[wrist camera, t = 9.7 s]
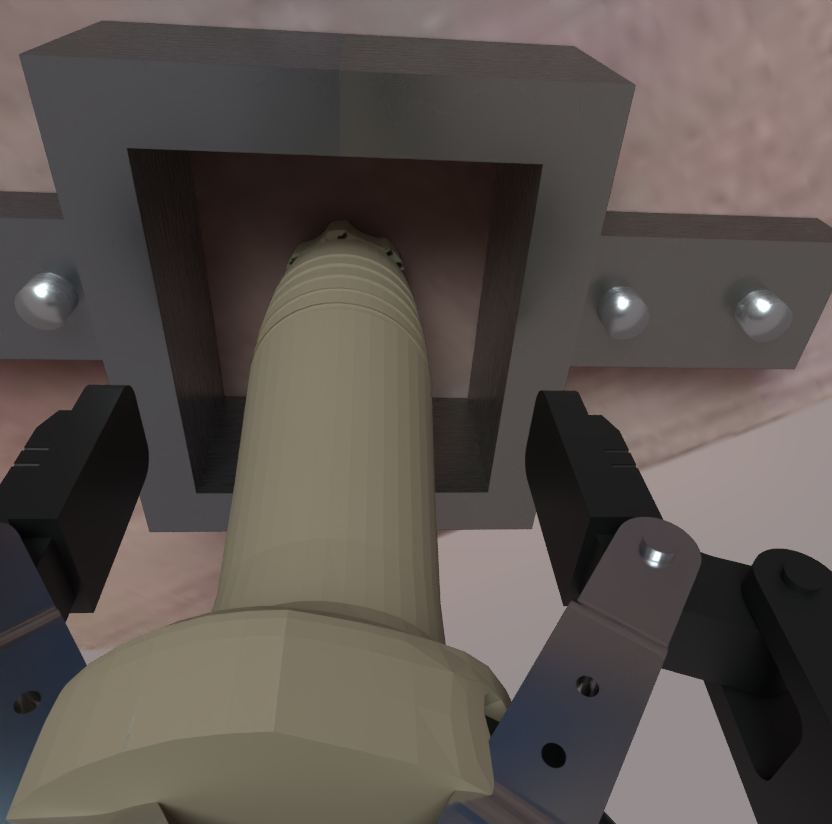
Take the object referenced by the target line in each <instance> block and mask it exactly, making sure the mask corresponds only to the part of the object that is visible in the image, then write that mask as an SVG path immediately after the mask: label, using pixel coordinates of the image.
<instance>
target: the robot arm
mask: <svg viewBox="0 0 832 824" xmlns="http://www.w3.org/2000/svg"><path fill="white" fill-rule="evenodd" d="M24 447H25V450H24V451H21V453H20V454H19V456H18V457H17V459H16V461H15V462H14V464H15V465H14V467H11V468H10V470H9V471H8V473H7V475H6V476H5V478H4V479H3V481H2V482H1V484H0V824H168V822H167V820H166V818H165V816H164V814H163V812H162V810H161V808H160V806H159V804H158V802H152V803H146V804H141V805H137V806H132V807H129V808H125V809H122V810H119V811H115V812H111V813H105V814H99V815H89V816H70V817H49V818H27V819H6V817H7V814H8V812H9V809H10V807H11V804H12V801H13V799H14V796H15V794H16V791H17V789H18V786H19V784H20V781H21V779H22V776H23V774H24V771H25V769H26V766H27V764H28V761H29V759H30V756H31V754H32V752H33V749H34V747H35V744H36V742H37V740H38V737H39V735H40V732H41V730H42V728H43V725H44V723H45V721H46V719H47V717H48V715H49V713H50V711H51V709H52V707H53V705H54V703H55V702H56V700H57V698H58V696H59V694H60V692H61V691H62V689H63V688H64V687H65V685H66V684H67V683H68V682H69V681H70V680H71V679H73V678H74V677H75V676H76V675H77V674H78V673H79V672H80V671H81V670H82V669H84V668H85V667H86V666H87V665H86V663H85V661H84V659H83V657H82V655H81V653H80V651H79V649H78V647H77V645H76V643H75V641H74V639H73V637H72V635H71V633H70V631H69V629H68V627H67V625H66V620H67V618H68V615H69V613H94V611H95V608H96V606H97V603H98V601H99V598H100V595H101V593H102V590H103V588H104V585H105V582H106V580H107V577H108V575H109V572H110V570H111V567H112V564H113V562H114V559H115V557H116V554H117V552H118V549H119V546H120V544H121V541H122V539H123V536H124V534H125V531H126V528H127V526H128V523H129V521H130V518H131V516H132V513H133V510H134V508H135V505H136V503H137V500H138V497H139V495H140V492H141V490H142V487H143V485H144V482H145V479H146V477H147V473H148V467H149V450H148V444H147V440H146V436H145V432H144V428H143V424H142V420H141V416H140V412H139V408H138V404H137V400H136V396H135V392H134V390H133V388H132V387H131V386H129V385H88V386H86V387H85V389H84V390H83V392H82V394H81V395H80V397H79V399H78V400H77V402H76V404H75V405H74V407H73V409H72V410H59V411H58V412H56V413H55V414H54V415H52V416H51V417H50V418H48V419H47V420H46V421H44V422H43V423H42V424H40V425H39V426H38V427H37V428H36V429H35V431H34V432H33V434H32V436H31V437H30V439H29V440H28V442H27V443H26V445H25V446H24ZM628 450H629V449H628V447H627V445H626V443H625V441H624V439H623V437H622V435H621V433H620V431H619V430H618V429H617V428H615V427H614V426H613V425H612V424H611V423H610V422H609V421H608V420H607V419H605V418H604V417H603V416H602V415H588V413H587V410H586V408H585V406H584V404H583V401H582V399H581V397H580V395H579V393H578V392H577V391H552V390H540V391H539V392H538V394H537V397H536V401H535V406H534V410H533V415H532V420H531V425H530V430H529V435H528V440H527V445H526V451H525V471H526V477H527V481H528V484H529V488H530V491H531V495H532V498H533V502H534V505H535V509H536V512H537V515H538V519H539V522H540V526H541V529H542V533H543V537H544V540H545V543H546V547H547V550H548V554H549V557H550V561H551V564H552V568H553V571H554V575H555V578H556V582H557V585H558V589H559V592H560V595H561V599H562V603H563V606H567V608H566V610H565V611H564V613H563V615H562V616H561V618H560V620H559V622H558V623H557V625H556V627H555V629H554V630H553V632H552V634H551V635H550V637H549V639H548V640H547V642H546V644H545V646H544V647H543V649H542V651H541V652H540V654H539V656H538V658H537V659H536V661H535V663H534V665H533V666H532V668H531V670H530V671H529V673H528V675H527V676H526V678H525V680H524V682H523V683H522V685H521V687H520V688H519V690H518V692H517V693H516V695H515V697H514V699H513V700H512V702H511V704H510V705H509V707H508V709H507V711H506V712H505V714H504V716H503V717H502V719H501V721H500V722H499V721H497V720H495V719H492V718H490V717H488V716H486V715H485V718H486V722H487V726H488V729H489V733H490V737H491V738H490V740H489V748H490V755H491V762H492V769H493V777H494V790H493V793H492V794H491V795H488V794H483V793H477V792H470V791H459V790H456V791H455V792H454V794H453V795H452V797H451V799H450V800H449V802H448V804H447V805H446V807H445V809H444V810H443V812H442V814H441V815H440V817H439V819H438V820H437V822H436V824H616V823H615V822H614V821H613V820H612V819H611V818H610V817H609V816H608V815H607V814H606V813H605V812H604V809H605V807H606V804H607V802H608V799H609V797H610V794H611V792H612V789H613V787H614V784H615V782H616V779H617V777H618V775H619V772H620V770H621V767H622V765H623V762H624V760H625V757H626V754H627V752H628V750H629V747H630V745H631V742H632V740H633V737H634V735H635V732H636V730H637V727H638V725H639V722H640V719H641V717H642V715H643V712H644V710H645V707H646V705H647V702H648V700H649V697H650V695H651V692H652V690H653V687H654V685H655V682H656V680H657V677H658V675H659V672H660V670H661V668H662V669H666V670H669V671H673V672H676V673H680V674H684V675H687V676H691V677H694V678H698V679H702V680H704V683H705V685H706V688H707V691H708V693H709V696H710V699H711V701H712V704H713V707H714V709H715V712H716V715H717V717H718V720H719V723H720V725H721V728H722V730H723V733H724V736H725V738H726V741H727V744H728V746H729V749H730V751H731V754H732V757H733V760H734V762H735V765H736V767H737V770H738V773H739V775H740V778H741V780H742V783H743V786H744V789H745V791H746V794H747V797H748V799H749V802H750V804H751V807H752V810H753V812H754V815H755V818H756V820H757V823H758V824H832V571H830V570H829V569H828V568H827V567H826V566H824V565H823V564H821V563H820V562H819V561H817V560H815V559H813V558H811V557H809V556H807V555H805V554H802V553H799V552H797V551H793V550H788V549H770V550H766V551H764V552H762V553H761V554H759V555H758V556H757V558H756V559H755V561H754V562H753V564H752V566H750V565H745V564H742V563H738V562H734V561H729V560H725V559H721V558H717V557H713V556H710V555H707V554H704V553H701V552H700V550H699V548H698V546H697V544H696V543H695V541H694V540H693V539H692V538H691V537H690V536H689V535H688V534H687V533H686V532H685V531H684V530H682V529H681V528H679V527H678V526H676V525H674V524H672V523H670V522H667V521H664V520H663V518H662V516H661V514H660V512H659V510H658V508H657V506H656V504H655V502H654V500H653V498H652V496H651V494H650V492H649V490H648V488H647V486H646V484H645V482H644V480H643V478H642V476H641V474H640V471H639V469H638V468H636V463H635V461H634V459H633V457H632V455H631V453H629V452H628ZM5 819H6V820H5Z"/></svg>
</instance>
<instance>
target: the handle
mask: <svg viewBox="0 0 832 824" xmlns="http://www.w3.org/2000/svg"><path fill="white" fill-rule="evenodd" d="M286 270H287V271H286V273H285V274H284V276H283V277H282V279H281V281H280V283H279V284H278V286H277V288H276V290H275V292H274V295H273V297H272V299H271V302H270V304H269V307H268V309H267V312H266V315H265V317H264V320H263V322H262V325H261V329H260V332H259V335H258V339H257V344H256V347H255V351H254V355H253V360H252V364H251V369H250V375H249V382H248V389H247V396H246V404H245V411H244V419H243V426H242V433H241V441H240V448H239V455H238V463H237V470H236V478H235V485H234V491H233V497H232V504H231V510H230V516H229V523H228V529H227V536H226V542H225V548H224V555H223V561H222V567H221V574H220V580H219V587H218V593H217V597H216V600H215V603H214V607H213V610H212V612H211V613H207V614H204V615H200V616H196V617H192V618H189V619H185V620H181V621H177V622H175V623H172V624H170V625H167V626H165V627H163V628H160V629H158V630H155V631H153V632H150V633H148V634H145V635H143V636H141V637H138V638H136V639H133V640H131V641H128V642H126V643H123V644H121V645H119V646H118V647H116V648H114V649H113V650H111V651H109V652H108V653H106V654H104V655H103V656H101V657H100V658H98V659H96V660H94V661H93V662H91V663H89V664H88V665H87V666H86V667H85V668H84V669H82V670H81V671H80V672H79V673H78V674H77V675H76V676H75V677H74V678H73V679H71V680H70V681H69V682H68V683H67V684H66V685H65V687H64V688H63V689H62V691H61V692H60V694H59V696H58V698H57V700H56V702H55V703H54V705H53V707H52V709H51V711H50V713H49V715H48V717H47V719H46V721H45V723H44V725H43V728H42V730H41V732H40V735H39V737H38V740H37V742H36V744H35V747H34V749H33V752H32V754H31V756H30V759H29V761H28V764H27V766H26V769H25V771H24V774H23V776H22V779H21V781H20V784H19V786H18V789H17V791H16V794H15V796H14V799H13V801H12V804H11V807H10V809H9V812H8V814H7V817H6V819H27V818H49V817H70V816H89V815H99V814H105V813H111V812H115V811H119V810H122V809H125V808H129V807H132V806H137V805H141V804H146V803H152V802H158V804H159V806H160V808H161V810H162V812H163V814H164V816H165V818H166V820H167V822H168V824H436V822H437V820H438V819H439V817H440V815H441V814H442V812H443V810H444V809H445V807H446V805H447V804H448V802H449V800H450V799H451V797H452V795H453V794H454V792H455V791H456V790H459V791H470V792H477V793H483V794H488V795H491V794H492V793H493V790H494V777H493V769H492V762H491V755H490V748H489V740H490V738H491V737H490V733H489V729H488V726H487V722H486V718H485V715H486V716H488V717H490V718H492V719H495V720H497V721H499V722H500V721H501V719H502V717H503V716H504V714H505V712H506V711H507V709H508V707H509V705H510V704H511V699H510V697H509V695H508V693H507V691H506V689H505V688H504V687H503V685H502V684H501V683H500V681H499V680H498V679H497V677H496V676H495V675H494V673H493V672H492V671H491V670H490V668H489V667H488V666H487V665H485V664H483V663H482V662H480V661H479V660H477V659H475V658H474V657H472V656H471V655H469V654H467V653H466V652H464V651H461V650H458V649H455V648H453V647H450V646H447V645H446V644H445V636H444V628H443V621H442V612H441V604H440V585H439V564H438V543H437V522H436V501H435V478H434V447H433V416H432V385H431V377H430V368H429V362H428V355H427V349H426V343H425V339H424V334H423V329H422V325H421V322H420V317H419V313H418V310H417V306H416V303H415V300H414V297H413V294H412V292H411V289H410V287H409V284H408V282H407V280H406V278H405V276H404V274H403V273H402V272H403V270H404V266H403V263H402V260H401V256H400V254H399V252H398V251H397V249H396V247H395V246H394V244H393V243H392V242H391V241H390V240H389V239H388V238H386V237H380V238H377V237H372V236H369V235H367V234H364V233H362V232H360V231H359V230H357V229H355V228H354V227H353V226H351V225H350V223H349V222H348V221H347V220H336V221H331V222H330V223H329V225H328V227H327V229H326V230H325V231H324V232H323V233H322V234H321V235H320V236H318V237H316V238H315V239H313V240H310V241H302V242H300V243H299V244H298V245H297V247H296V248H295V249H294V251H293V253H292V255H291V257H290V259H289V261H288V264H287V266H286ZM6 819H5V820H6Z"/></svg>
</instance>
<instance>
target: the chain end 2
mask: <svg viewBox="0 0 832 824" xmlns="http://www.w3.org/2000/svg"><path fill="white" fill-rule="evenodd" d="M635 86H636V85H635V84H633V83H632V82H630V81H629V80H627V79H625V78H624V77H622V76H621V75H619V74H618V73H616V72H614V71H613V70H611V69H610V68H608V67H606V66H605V65H603V64H602V63H600V62H598V61H597V60H595V59H594V58H592V57H591V56H589V55H587V54H586V53H584V52H583V51H581V50H579V49H578V48H576V47H575V46H558V45H540V44H521V43H503V42H485V41H466V40H448V39H429V38H411V37H393V36H374V35H356V34H345V38H344V44H343V50H342V56H341V62H340V69H339V91H340V156H345V157H371V158H396V159H422V160H448V161H473V162H498V167H497V175H496V183H495V191H494V198H493V206H492V214H491V222H490V230H489V238H488V246H487V253H486V261H485V269H484V277H483V285H482V293H481V301H480V308H479V316H478V324H477V332H476V340H475V348H474V356H473V363H472V371H471V379H470V387H469V395H468V399H465V398H432V416H433V447H434V478H435V501H436V522H437V530H465V529H466V530H467V529H468V530H469V529H532V526H533V522H534V517H535V514H536V509H535V505H534V502H533V498H532V495H531V491H530V488H529V484H528V481H527V477H526V471H525V451H526V445H527V440H528V435H529V430H530V425H531V420H532V415H533V410H534V406H535V401H536V397H537V394H538V392H539V391H540V390H552V391H564V390H565V385H566V381H567V377H568V372H569V368H570V366H585V367H662V368H739V369H795V368H796V366H797V363H798V361H799V359H800V357H801V355H802V353H803V351H804V349H805V347H806V345H807V343H808V341H809V339H810V336H811V334H812V332H813V330H814V328H815V326H816V324H817V322H818V320H819V318H820V316H821V314H822V311H823V309H824V307H825V305H826V303H827V301H828V299H829V297H830V295H831V293H832V228H831V227H830V226H829V225H827V224H826V223H824V222H823V221H821V220H820V219H818V218H789V217H759V216H728V215H698V214H668V213H638V212H608V211H606V210H607V206H608V201H609V197H610V193H611V189H612V184H613V180H614V176H615V172H616V167H617V163H618V159H619V154H620V150H621V146H622V142H623V137H624V133H625V129H626V124H627V120H628V116H629V112H630V107H631V103H632V99H633V95H634V90H635Z"/></svg>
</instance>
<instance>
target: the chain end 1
mask: <svg viewBox="0 0 832 824" xmlns="http://www.w3.org/2000/svg"><path fill="white" fill-rule="evenodd" d="M344 38H345V34H338V33H319V32H301V31H282V30H264V29H246V28H227V27H209V26H190V25H172V24H154V23H135V22H117V21H100V22H97V23H95V24H92V25H90V26H87V27H85V28H83V29H80V30H78V31H75V32H73V33H70V34H68V35H65V36H63V37H60V38H58V39H55V40H53V41H50V42H48V43H45V44H43V45H40V46H38V47H36V48H33V49H31V50H28V51H26V52H23V53H21V54H19V57H20V60H21V64H22V68H23V71H24V75H25V79H26V82H27V86H28V89H29V93H30V97H31V100H32V104H33V108H34V111H35V115H36V119H37V122H38V126H39V130H40V133H41V137H42V141H43V144H44V148H45V152H46V155H47V159H48V163H49V166H50V170H51V174H52V177H53V181H54V185H55V188H56V192H57V193H35V192H5V191H0V359H48V360H103V364H104V367H105V371H106V375H107V378H108V382H109V385H129V386H131V387H132V388H133V390H134V392H135V396H136V400H137V404H138V408H139V412H140V416H141V420H142V424H143V428H144V432H145V436H146V440H147V444H148V450H149V467H148V473H147V477H146V479H145V482H144V485H143V487H142V490H141V492H140V499H141V502H142V506H143V510H144V513H145V517H146V521H147V524H148V528H149V532H221V531H227V529H228V523H229V516H230V510H231V504H232V497H233V491H234V485H235V478H236V470H237V463H238V455H239V448H240V441H241V433H242V426H243V419H244V411H245V404H246V397H236V396H224V389H223V383H222V376H221V369H220V362H219V356H218V349H217V342H216V335H215V328H214V322H213V315H212V308H211V301H210V294H209V288H208V281H207V274H206V267H205V261H204V254H203V247H202V240H201V233H200V227H199V220H198V213H197V206H196V199H195V193H194V186H193V179H192V172H191V166H190V159H189V152H188V150H191V151H217V152H242V153H268V154H294V155H319V156H340V91H339V69H340V62H341V56H342V50H343V44H344Z"/></svg>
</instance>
